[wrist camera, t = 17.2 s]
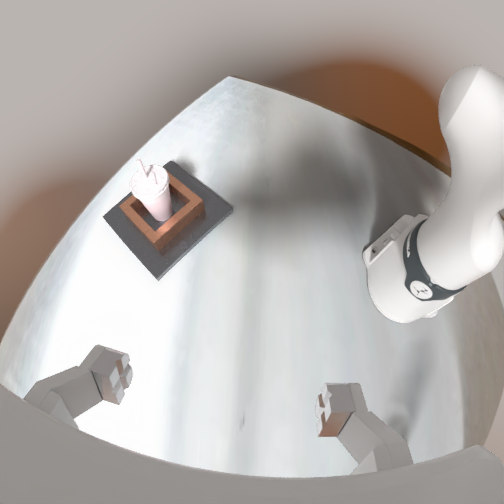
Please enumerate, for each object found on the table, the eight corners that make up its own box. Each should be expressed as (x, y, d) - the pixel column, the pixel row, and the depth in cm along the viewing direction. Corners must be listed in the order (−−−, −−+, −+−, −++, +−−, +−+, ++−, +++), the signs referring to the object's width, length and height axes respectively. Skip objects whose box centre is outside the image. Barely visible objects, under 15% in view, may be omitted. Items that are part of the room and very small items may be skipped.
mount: (171, 163, 55) (167, 150, 51) (232, 211, 50) (232, 198, 46) (104, 219, 49) (96, 208, 45) (158, 280, 44) (150, 272, 41)
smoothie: (165, 192, 50) (145, 140, 38) (187, 210, 49) (170, 157, 36) (140, 214, 48) (112, 165, 36) (160, 234, 47) (135, 186, 34)
